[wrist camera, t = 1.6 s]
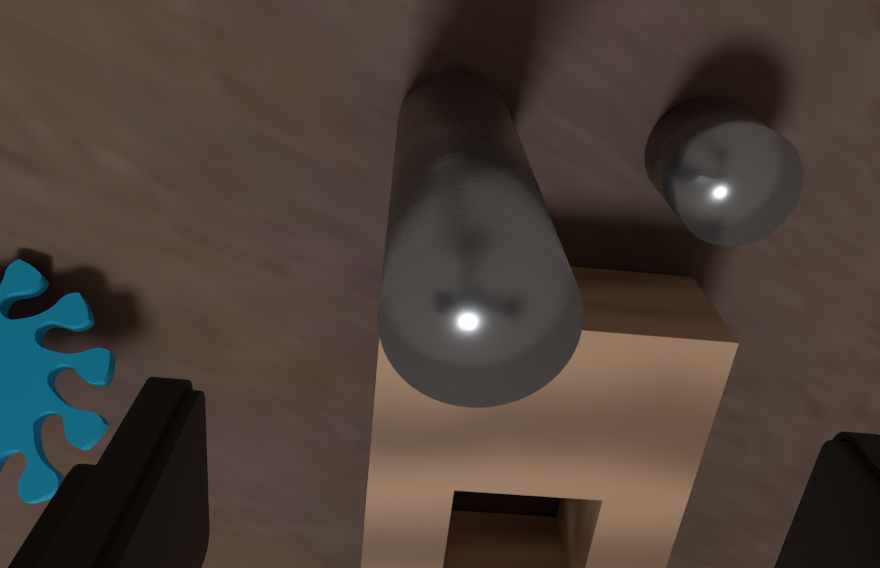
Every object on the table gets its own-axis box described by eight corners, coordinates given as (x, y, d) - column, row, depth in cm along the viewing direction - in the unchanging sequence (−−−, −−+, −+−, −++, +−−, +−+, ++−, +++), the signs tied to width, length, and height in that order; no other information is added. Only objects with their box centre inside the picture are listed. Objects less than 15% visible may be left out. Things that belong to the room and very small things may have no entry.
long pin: (402, 64, 27) (385, 219, 14) (518, 76, 27) (602, 238, 14) (393, 175, 28) (371, 400, 16) (501, 185, 29) (563, 414, 16)
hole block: (387, 250, 30) (381, 314, 25) (692, 276, 30) (739, 343, 26) (357, 614, 39) (349, 708, 34) (593, 627, 39) (615, 721, 35)
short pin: (658, 90, 27) (694, 120, 24) (768, 102, 27) (820, 133, 24) (633, 197, 29) (663, 241, 25) (737, 207, 29) (781, 251, 26)
